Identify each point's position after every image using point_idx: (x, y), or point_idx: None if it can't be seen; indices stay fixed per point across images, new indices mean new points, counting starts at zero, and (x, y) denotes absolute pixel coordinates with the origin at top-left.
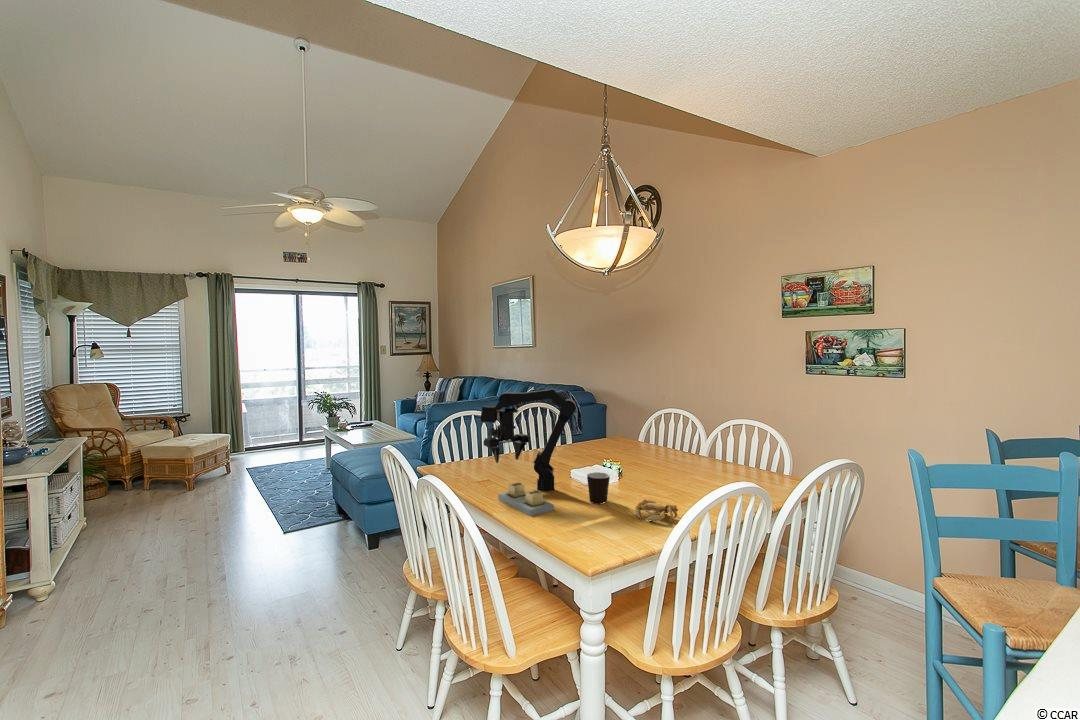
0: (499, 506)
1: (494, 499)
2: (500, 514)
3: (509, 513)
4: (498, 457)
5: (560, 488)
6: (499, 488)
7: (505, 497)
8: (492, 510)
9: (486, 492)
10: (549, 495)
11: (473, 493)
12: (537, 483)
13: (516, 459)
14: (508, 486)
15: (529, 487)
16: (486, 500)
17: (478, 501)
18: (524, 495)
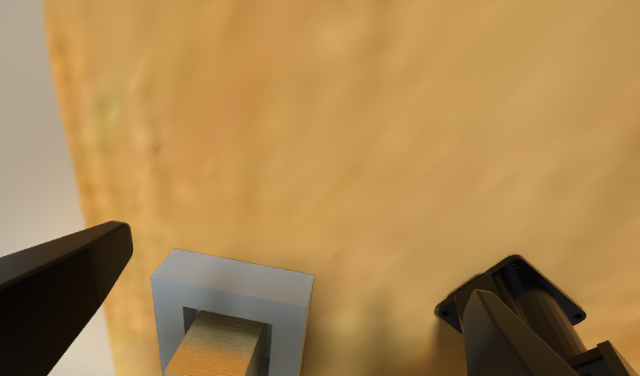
0: (150, 293)
1: (175, 207)
2: (115, 349)
3: (150, 364)
4: (59, 347)
5: (617, 330)
6: (329, 43)
7: (159, 334)
8: (103, 304)
9: (195, 59)
10: (450, 353)
11: (103, 8)
12: (462, 330)
13: (465, 315)
14: (172, 357)
15: (510, 186)
16: (129, 190)
17: (83, 172)
18: (257, 374)
